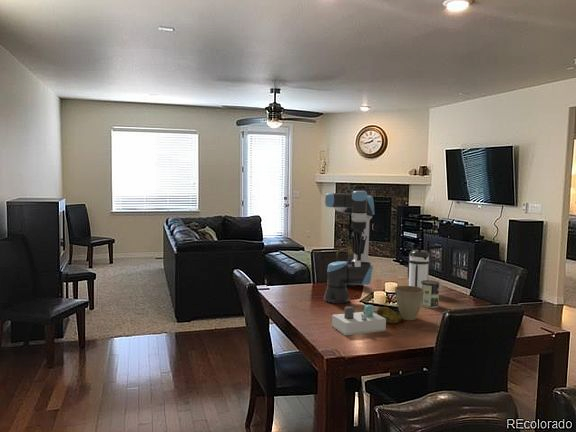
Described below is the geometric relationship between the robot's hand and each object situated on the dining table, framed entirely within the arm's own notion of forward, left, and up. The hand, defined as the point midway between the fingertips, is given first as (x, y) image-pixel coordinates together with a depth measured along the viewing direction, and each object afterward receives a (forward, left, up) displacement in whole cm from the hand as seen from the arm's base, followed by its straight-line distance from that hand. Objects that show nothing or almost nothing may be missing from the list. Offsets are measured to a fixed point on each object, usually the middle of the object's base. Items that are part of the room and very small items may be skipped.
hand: (357, 266), depth 248 cm
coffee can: (-12, +55, -29) cm, 63 cm away
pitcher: (-74, +35, -29) cm, 87 cm away
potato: (+9, +14, -29) cm, 33 cm away
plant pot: (+6, +28, -29) cm, 41 cm away
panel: (+13, -6, -28) cm, 32 cm away
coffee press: (-44, +69, -29) cm, 87 cm away
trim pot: (+18, -6, -22) cm, 29 cm away
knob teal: (+13, 0, -27) cm, 30 cm away
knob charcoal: (+13, -11, -27) cm, 32 cm away
